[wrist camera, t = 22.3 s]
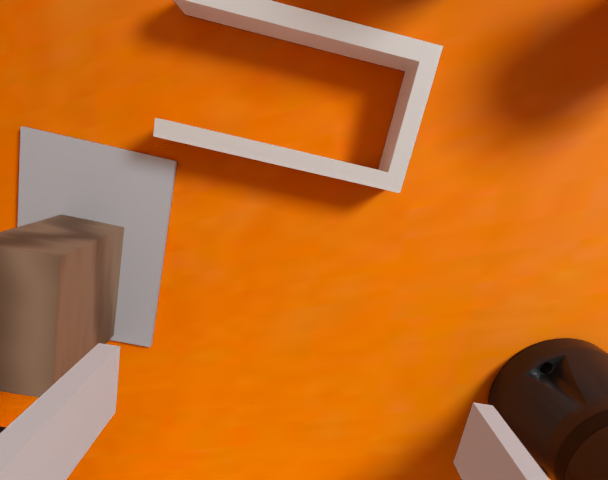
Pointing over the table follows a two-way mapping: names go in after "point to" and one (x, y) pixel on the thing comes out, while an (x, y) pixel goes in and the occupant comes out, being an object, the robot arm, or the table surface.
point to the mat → (105, 211)
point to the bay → (336, 39)
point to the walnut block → (55, 298)
